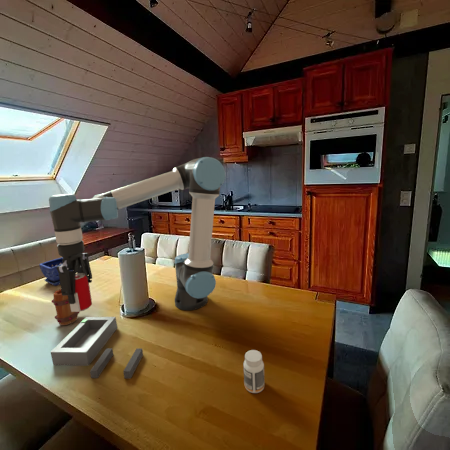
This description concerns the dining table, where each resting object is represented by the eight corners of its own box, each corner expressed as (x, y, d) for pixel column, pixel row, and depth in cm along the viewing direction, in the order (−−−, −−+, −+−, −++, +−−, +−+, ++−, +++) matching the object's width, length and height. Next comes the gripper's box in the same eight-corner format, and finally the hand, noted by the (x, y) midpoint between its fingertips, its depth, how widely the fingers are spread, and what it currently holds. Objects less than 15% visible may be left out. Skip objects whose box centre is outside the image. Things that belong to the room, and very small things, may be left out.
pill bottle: (262, 377, 77) (262, 347, 75) (266, 393, 71) (265, 362, 69) (243, 378, 77) (242, 348, 74) (245, 395, 71) (244, 363, 69)
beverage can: (87, 301, 95) (81, 270, 93) (95, 306, 91) (90, 274, 89) (68, 309, 90) (62, 277, 88) (76, 315, 87) (70, 281, 84)
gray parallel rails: (143, 354, 88) (142, 348, 88) (130, 378, 78) (129, 371, 78) (107, 354, 89) (106, 348, 89) (91, 378, 79) (89, 370, 79)
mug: (68, 329, 105) (61, 295, 101) (51, 327, 106) (43, 293, 103) (93, 309, 119) (87, 279, 115) (77, 308, 120) (71, 278, 117)
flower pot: (77, 279, 154) (74, 260, 151) (53, 288, 143) (49, 267, 140) (65, 275, 161) (62, 256, 158) (42, 283, 150) (37, 264, 147)
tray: (117, 328, 104) (115, 316, 103) (88, 365, 85) (85, 351, 83) (88, 328, 105) (86, 316, 104) (53, 365, 85) (50, 351, 84)
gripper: (76, 234, 95) (87, 292, 100) (37, 251, 77) (52, 321, 82) (96, 233, 95) (106, 292, 100) (62, 250, 76) (75, 321, 81)
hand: (81, 305), depth 91 cm, fingers closed on beverage can, 6 cm apart
